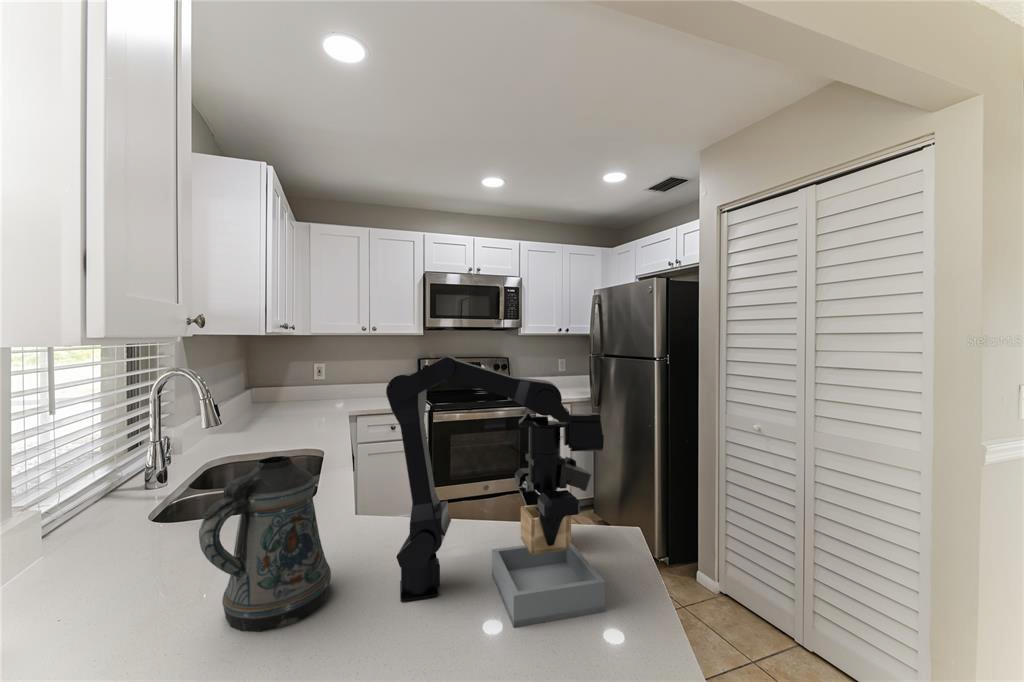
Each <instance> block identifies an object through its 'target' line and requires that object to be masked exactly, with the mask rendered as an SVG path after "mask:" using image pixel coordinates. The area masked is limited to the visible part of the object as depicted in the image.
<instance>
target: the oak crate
mask: <svg viewBox="0 0 1024 682" xmlns="http://www.w3.org/2000/svg"><path fill="white" fill-rule="evenodd" d="M535 508H538V505H529V506H526V505H522V506H520V541H522V543H523V545H525V546H526V548H527V549H528V551H529V552H530V554H531V555H533V554H541V553H549V552H557V551H564V550H569V516H565V517H564V518H563V519H562V522H561V524H560V527H559V530H558V533H557V536H556V540H555V543H554V545H553V546H548V545H547V543H546V540H545V537H544V534H543V531H542V528H541V524H540V521H539V518H538V515H537V512H536V509H535Z"/></svg>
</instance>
